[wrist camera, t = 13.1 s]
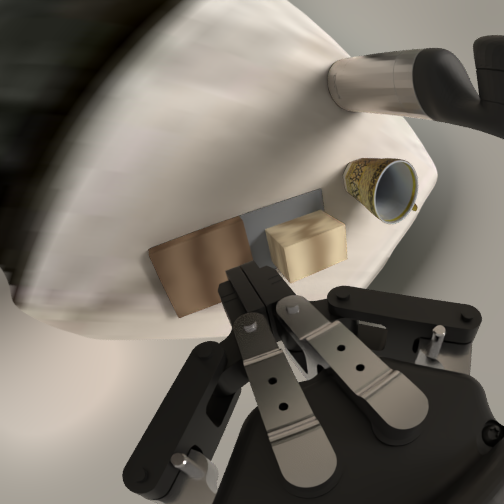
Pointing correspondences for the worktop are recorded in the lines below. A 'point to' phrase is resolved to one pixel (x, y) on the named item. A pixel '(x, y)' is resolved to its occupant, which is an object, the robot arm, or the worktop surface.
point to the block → (307, 244)
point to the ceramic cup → (383, 187)
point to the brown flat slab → (200, 264)
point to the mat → (276, 222)
